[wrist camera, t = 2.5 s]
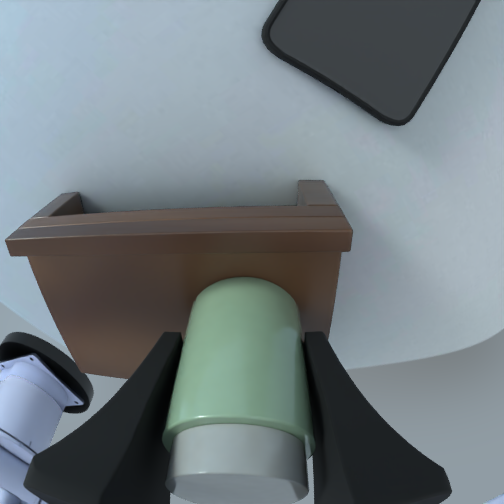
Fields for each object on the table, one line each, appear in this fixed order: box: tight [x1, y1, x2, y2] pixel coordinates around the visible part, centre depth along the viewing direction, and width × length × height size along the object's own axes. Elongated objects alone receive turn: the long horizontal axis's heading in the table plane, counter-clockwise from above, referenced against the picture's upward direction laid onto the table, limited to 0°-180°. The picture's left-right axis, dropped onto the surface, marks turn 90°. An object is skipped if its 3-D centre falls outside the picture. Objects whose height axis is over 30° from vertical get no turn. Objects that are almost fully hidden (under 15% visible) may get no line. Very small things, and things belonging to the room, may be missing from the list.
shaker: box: [162, 277, 316, 504], centre depth 10 cm, size 4×4×7 cm
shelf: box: [5, 180, 353, 379], centre depth 14 cm, size 9×13×5 cm
